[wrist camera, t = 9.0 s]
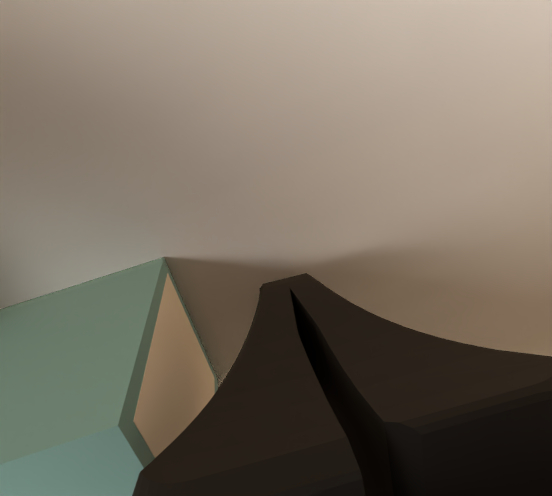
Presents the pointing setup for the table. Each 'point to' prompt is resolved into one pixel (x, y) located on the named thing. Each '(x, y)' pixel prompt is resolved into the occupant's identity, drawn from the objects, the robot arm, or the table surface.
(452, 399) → the robot arm
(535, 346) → the table surface
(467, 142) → the table surface
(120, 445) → the book
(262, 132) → the table surface
